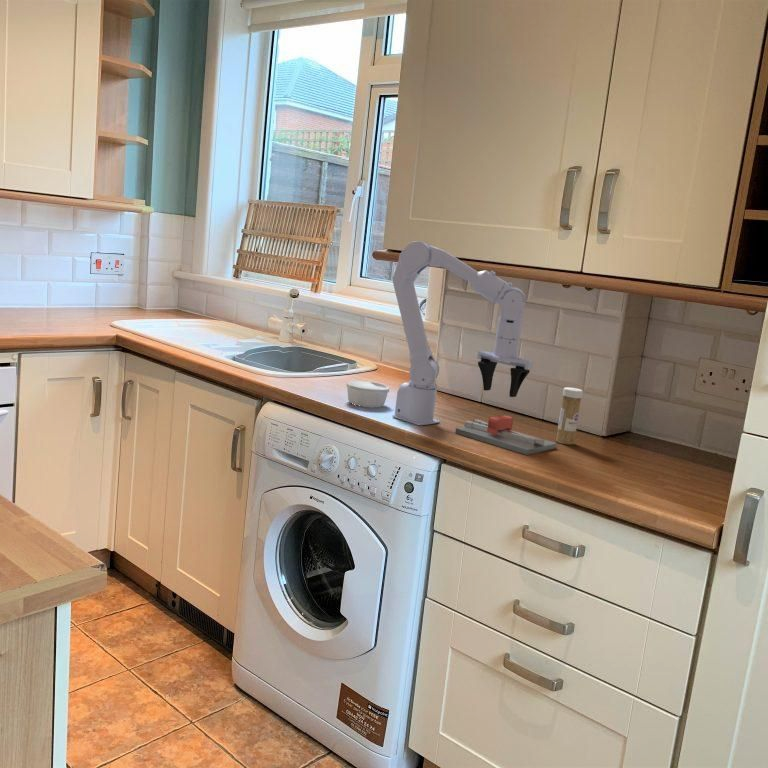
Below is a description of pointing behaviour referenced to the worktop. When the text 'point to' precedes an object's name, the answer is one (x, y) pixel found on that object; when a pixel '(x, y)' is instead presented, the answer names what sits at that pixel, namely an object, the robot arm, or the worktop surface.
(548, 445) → the slate board
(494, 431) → the red block
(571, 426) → the sprinkles bottle
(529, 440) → the tongs
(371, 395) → the ramekin
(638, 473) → the worktop surface
